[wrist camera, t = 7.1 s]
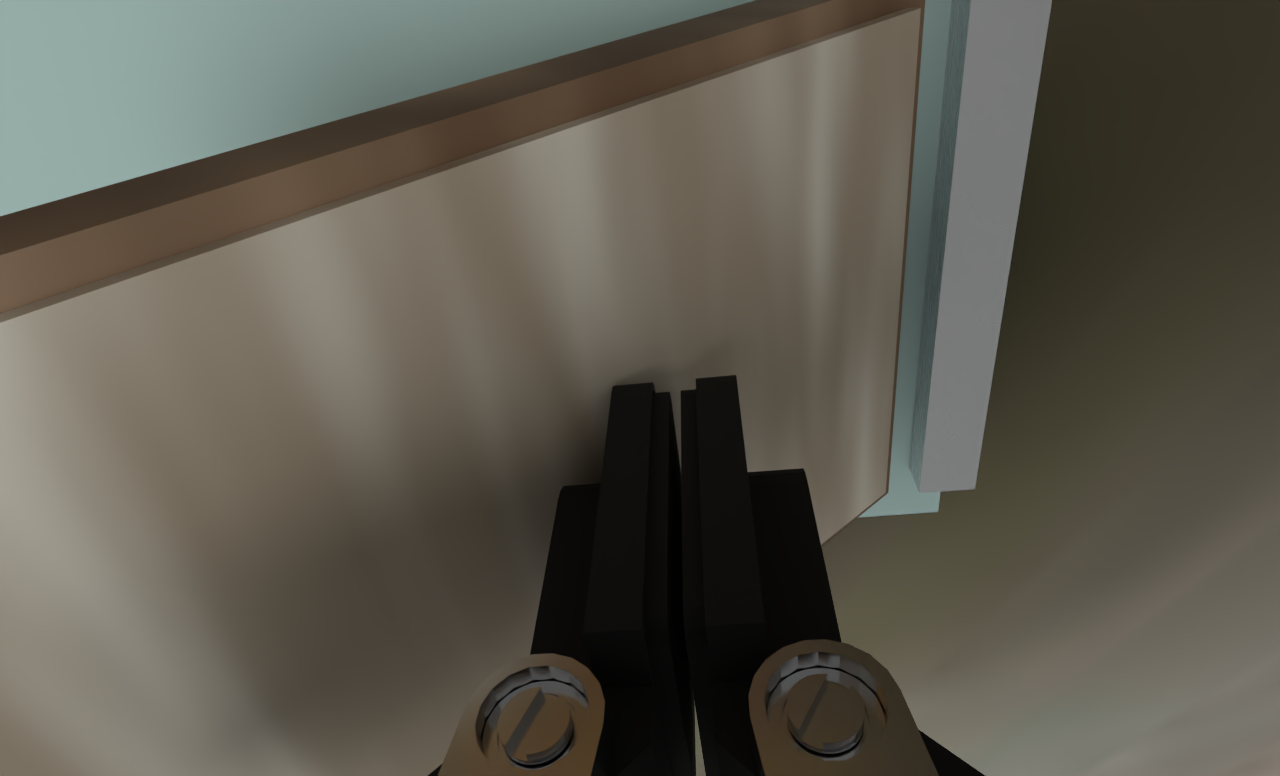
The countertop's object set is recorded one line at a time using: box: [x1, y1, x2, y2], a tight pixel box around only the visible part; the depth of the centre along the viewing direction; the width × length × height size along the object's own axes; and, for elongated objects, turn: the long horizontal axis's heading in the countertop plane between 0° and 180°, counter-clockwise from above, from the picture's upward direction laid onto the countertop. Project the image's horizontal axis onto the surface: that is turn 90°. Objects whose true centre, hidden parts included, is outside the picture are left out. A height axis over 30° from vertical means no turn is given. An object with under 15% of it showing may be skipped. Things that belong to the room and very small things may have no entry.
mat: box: [0, 0, 952, 517], centre depth 16 cm, size 20×14×1 cm
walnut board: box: [0, 0, 925, 776], centre depth 11 cm, size 1×10×14 cm
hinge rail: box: [909, 0, 1052, 493], centre depth 15 cm, size 1×11×1 cm, turn 7°
